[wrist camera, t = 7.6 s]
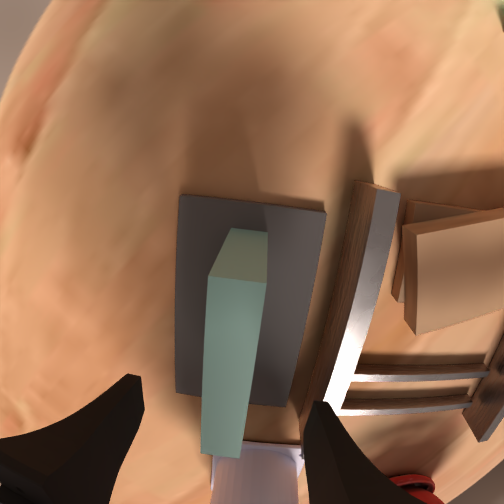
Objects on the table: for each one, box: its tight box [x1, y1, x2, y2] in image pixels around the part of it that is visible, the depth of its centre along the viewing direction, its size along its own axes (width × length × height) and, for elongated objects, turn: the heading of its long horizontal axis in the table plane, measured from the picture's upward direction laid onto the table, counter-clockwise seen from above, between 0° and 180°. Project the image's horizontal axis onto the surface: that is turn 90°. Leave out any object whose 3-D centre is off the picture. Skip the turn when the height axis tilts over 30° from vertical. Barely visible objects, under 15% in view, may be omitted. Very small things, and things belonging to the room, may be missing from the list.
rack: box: [299, 180, 504, 459], centre depth 18 cm, size 18×17×4 cm
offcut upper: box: [402, 207, 504, 336], centre depth 16 cm, size 6×10×2 cm, turn 101°
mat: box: [175, 194, 327, 407], centre depth 20 cm, size 14×8×1 cm, turn 173°
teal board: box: [201, 228, 268, 459], centre depth 16 cm, size 2×10×7 cm, turn 173°
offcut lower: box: [391, 200, 484, 303], centre depth 18 cm, size 6×10×2 cm, turn 87°
